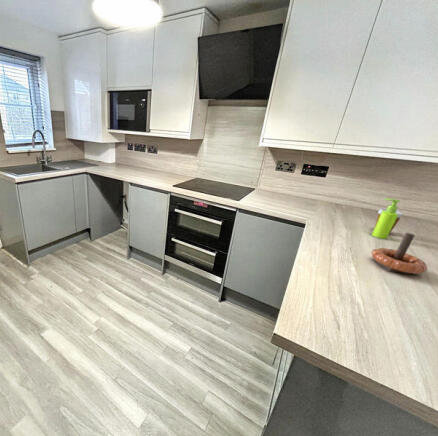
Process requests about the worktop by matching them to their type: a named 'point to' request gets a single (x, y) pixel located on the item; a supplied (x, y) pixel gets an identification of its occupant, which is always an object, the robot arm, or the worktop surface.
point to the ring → (406, 265)
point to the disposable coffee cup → (395, 220)
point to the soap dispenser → (386, 220)
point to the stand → (401, 251)
